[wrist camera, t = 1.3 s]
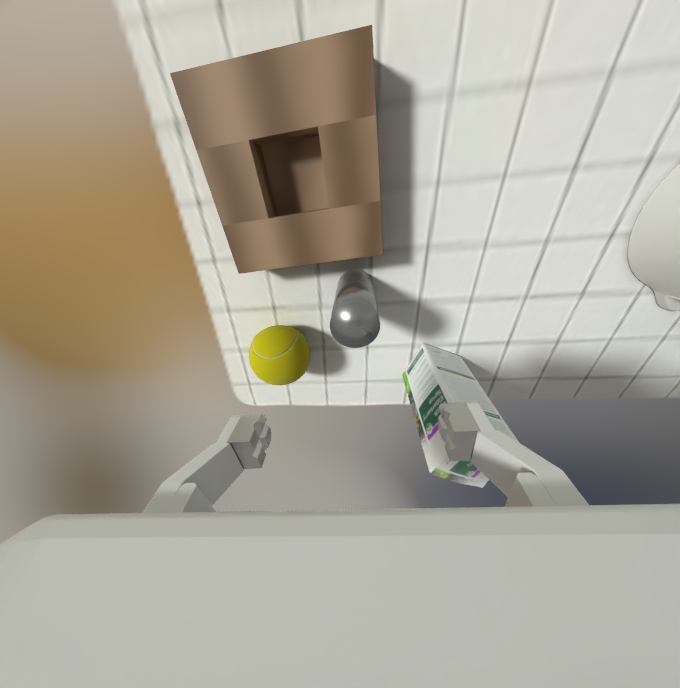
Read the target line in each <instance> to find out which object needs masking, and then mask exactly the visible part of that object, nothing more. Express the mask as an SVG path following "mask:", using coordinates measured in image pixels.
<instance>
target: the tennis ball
mask: <svg viewBox="0 0 680 688" xmlns="http://www.w3.org/2000/svg"><path fill="white" fill-rule="evenodd" d="M249 359H250V364H251V367H252V369H253V371H254V372H255V374H256V375H257V376H258V377H259V378H260V379H261V380H263V381H265V382H266V383H268V384H273V385H286V384H289V383H292V382H294V381H296V380H298V379H299V378H300V377H301V376H302V375H303V374H304V373H305V371H306V370H307V367H308V365H309V361H310V349H309V345H308V342H307V340H306V338H305V337H304V335H303V334H302V333H301V332H300V331H298V330H297V329H295V328H293V327H290V326H284V325H277V326H272V327H268V328H266V329H264V330H263V331H261V332H260V333H258V334H257V335H256V336H255V337H254V339H253V341H252V343H251V346H250V351H249Z"/></svg>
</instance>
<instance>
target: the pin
mask: <svg viewBox="0 0 680 688" xmlns="http://www.w3.org/2000/svg"><path fill="white" fill-rule="evenodd" d="M330 330H331V333H332V335H333V337H334V338H335V339H336V340H337V341H338V342H339V343H340V344H342V345H344V346H347V347H351V348H359V347H363V346H366V345H368V344H370V343H371V342H372V341H373V340H374V339H375V338H376V337H377V335H378V333H379V330H380V321H379V316H378V310H377V305H376V299H375V294H374V289H373V283H372V280H371V278H370V276H369V275H368V274H367V273H366V272H364V271H362V270H358V269H353V270H349V271H347V272H345V273H344V274H343V275H342V276H341V278H340V279H339V282H338V287H337V292H336V296H335V301H334V306H333V311H332V316H331V321H330Z"/></svg>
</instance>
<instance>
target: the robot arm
mask: <svg viewBox="0 0 680 688" xmlns="http://www.w3.org/2000/svg"><path fill="white" fill-rule="evenodd" d="M628 260H629V265H630V268H631V270H632V272H633V273H634V275H635V276H636V277H637V278H638V279H639V280H640V281H641V282H643V283H644V284H646V285H647V286H649V287H650V288H651V289H652V290H653V291H654V294H655V298H656V301H657V303H658V305H659V306H660V307H661V308H664V309H668V310H672V311H677V310H680V164H678V165H677V166H676V167H675V168H674V169H673V170H672V171H671V172H670V173H669V175H668V176H667V177H666V178H665V179H664V180H663V181H662V182H661V183H660V185H659V186H658V187H657V188H656V190H655V191H654V192H653V194H652V195H651V196H650V198H649V199H648V201H647V202H646V204H645V205H644V207H643V209H642V210H641V212H640V214H639V216H638V218H637V220H636V222H635V224H634V227H633V229H632V232H631V236H630V240H629V245H628ZM439 411H440V414H441V415H440V416H439V417H438V429H439V433H440V436H441V439H443V440H444V441H445V450H446V452H447V455H448V458H449V460H450V461H471V463H473V464H474V465H475V466H476V467H477V468H478V469H479V470H480V471H481V472H482V473H483V474H484V475H485V476H486V477H487V478H488V479H489V480H490V481H491V482H493V483H494V484H495V485H496V486H497V487H498V488H499V489H500V490H501V491H502V492H503V493H504V494H505V495H506V496H507V497H508V499H507V502H506V505H505V507H473V508H422V509H421V508H419V509H418V508H415V509H360V510H302V511H244V512H216V511H215V510H214V508H213V507H212V505H213V504H214V503H215V502H216V501H217V500H218V499H219V497H220V496H221V495H222V494H223V493H224V492H225V491H226V490H227V488H228V487H229V486H230V485H231V484H232V483H233V482H234V481H235V480H236V478H237V477H238V476H239V475H240V474H241V473H242V472H243V470H244V469H252V468H262V465H263V462H264V459H265V456H266V453H265V451H264V450H265V449H267V448H268V447H269V444H270V441H271V430H270V427H269V426H268V425H267V424H265V422H266V420H267V419H266V417H265V415H263V414H254V415H233V416H232V417H231V418H230V419H229V421H228V423H227V424H226V426H225V428H224V430H223V432H222V433H221V435H220V437H219V439H218V440H217V442H216V444H212V445H211V446H209V447H208V448H207V449H205V450H204V451H203V452H202V453H201V454H199V455H198V456H196V457H195V458H194V459H192V460H191V461H190V462H189V463H187V464H186V465H185V466H183V467H182V468H181V469H179V470H178V471H177V472H176V473H175V474H173V475H172V476H171V477H169V478H168V479H167V480H165V481H164V482H163V483H162V484H161V486H160V487H159V489H158V490H157V492H156V493H155V495H154V496H153V498H152V499H151V500H150V502H149V503H148V505H147V507H146V508H145V509H144V511H143V512H142V513H126V514H125V513H124V514H58V515H51V516H48V517H45V518H42V519H41V520H39V521H37V522H36V523H34V524H32V525H30V526H28V527H27V528H25V529H23V530H21V531H20V532H18V533H17V534H15V535H14V536H12V537H10V538H9V539H7V540H5V541H4V542H2V543H1V544H0V688H680V504H645V505H594V506H593V505H588V503H587V502H586V501H585V499H584V498H583V497H582V495H581V494H580V493H579V491H578V490H577V489H576V488H575V486H574V485H573V484H572V482H571V481H570V480H569V478H568V477H567V476H566V474H565V473H564V472H563V471H562V470H561V469H559V468H558V467H556V466H554V465H553V464H551V463H550V462H548V461H547V460H545V459H543V458H542V457H540V456H538V455H537V454H536V453H534V452H532V451H531V450H529V449H528V448H526V447H524V446H523V445H521V444H520V443H518V442H517V441H515V440H513V439H512V438H510V437H509V436H507V435H506V434H504V433H502V432H501V431H499V430H495V429H494V427H493V426H492V424H491V423H490V421H489V419H488V418H487V416H486V414H485V413H484V411H483V410H482V408H481V406H480V405H479V403H478V402H477V401H469V402H455V403H440V405H439Z"/></svg>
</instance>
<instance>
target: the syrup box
mask: <svg viewBox="0 0 680 688" xmlns="http://www.w3.org/2000/svg"><path fill="white" fill-rule="evenodd" d="M403 379H404V382H405V386H406V390H407V393H408V397H409V400H410V404H411V407H412V411H413V415H414V418H415V422H416V425H417V429H418V432H419V436H420V440H421V443H422V447H423V450H424V454H425V458H426V461H427V464H428V468H429V471H430V473H431V474H434V475H436V476H439V477H442V478H445V479H448V480H451V481H454V482H458V483H462V484H466V485H472V486H478V487H481V488H482V487H483V486H484V485H485V484H486V482H487V481H488V480H489V479H488V478H487V477H486V476H485V475H484V474H483V473H482V472H481V471H480V470H479V469H478V468H477V467H476V466H475V465H474V464H473V463H471V461H450V460H449V458H448V455H447V452H446V450H445V441H444V440H443V439H441V436H440V433H439V429H438V417H439V416H440V415H441V414H440V411H439V405H440V403H455V402H469V401H477V402H478V403H479V405H480V406H481V408H482V410H483V411H484V413H485V414H486V416H487V418H488V419H489V421H490V423H491V424H492V426H493V427H494V429H495V430H499V431H501V432H502V433H504V434H506V435H507V436H509V437H510V438H512V439H513V440H515V441H517V439H516V438H515V436H514V435H513V433H512V432H511V430H510V429H509V428H508V426H507V424H506V423H505V421H504V420H503V418H502V417H501V415H500V414H499V413H498V411H497V410H496V408H495V407H494V405H493V404H492V402H491V401H490V399H489V398H488V396H487V395H486V393H485V392H484V390H483V389H482V387H481V386H480V384H479V383H478V381H477V380H476V378H475V377H474V375H473V374H472V372H471V371H470V370H469V368H468V367H467V365H466V364H465V362H464V361H463V359H462V358H461V357H460V356H458V355H455V354H452V353H450V352H447V351H444V350H441V349H438V348H436V347H433V346H430V345H427V344H424V343H423V344H422V345H421V347H420V349H419V350H418V352H417V353H416V355H415V356H414V358H413V359H412V361H411V362H410V364H409V366H408V367H407V369H406V370H405V372H404V374H403ZM517 442H518V441H517ZM518 443H519V442H518Z"/></svg>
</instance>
